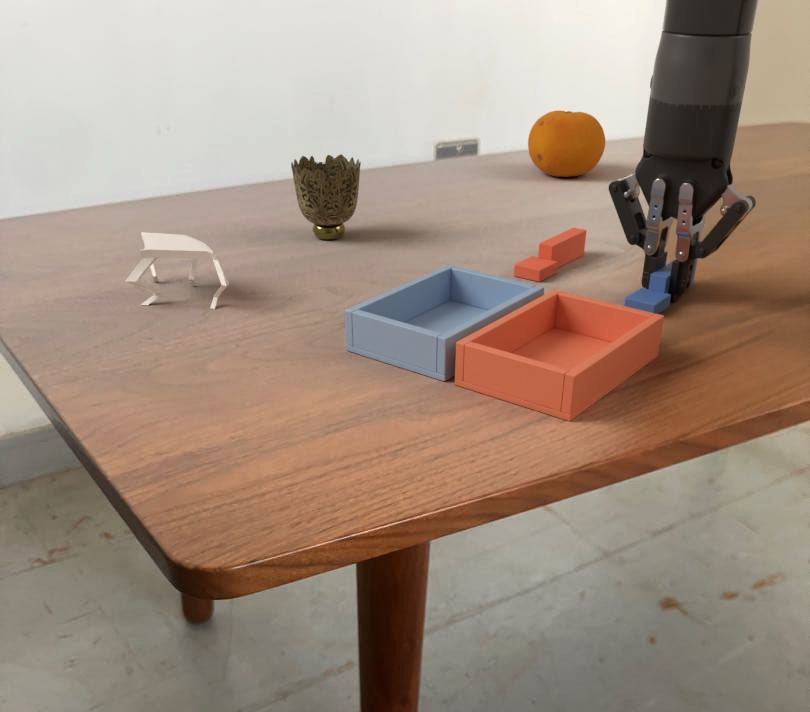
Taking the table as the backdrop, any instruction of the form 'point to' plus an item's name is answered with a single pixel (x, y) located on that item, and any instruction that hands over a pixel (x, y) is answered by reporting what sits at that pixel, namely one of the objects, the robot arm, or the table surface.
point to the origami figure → (173, 248)
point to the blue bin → (432, 318)
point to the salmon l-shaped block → (552, 255)
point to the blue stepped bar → (654, 292)
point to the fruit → (566, 143)
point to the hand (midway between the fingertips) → (663, 294)
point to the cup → (327, 193)
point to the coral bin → (558, 353)
